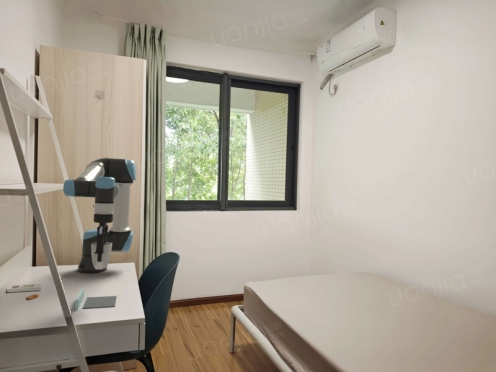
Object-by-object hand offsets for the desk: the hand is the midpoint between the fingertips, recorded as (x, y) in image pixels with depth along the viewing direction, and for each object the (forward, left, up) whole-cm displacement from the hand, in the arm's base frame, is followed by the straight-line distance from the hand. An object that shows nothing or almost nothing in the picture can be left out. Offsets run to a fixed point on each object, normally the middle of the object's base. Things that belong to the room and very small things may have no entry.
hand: (100, 266), depth 136 cm
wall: (0, -7, -15) cm, 17 cm away
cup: (0, 0, 0) cm, 0 cm away
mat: (0, +1, -15) cm, 15 cm away
